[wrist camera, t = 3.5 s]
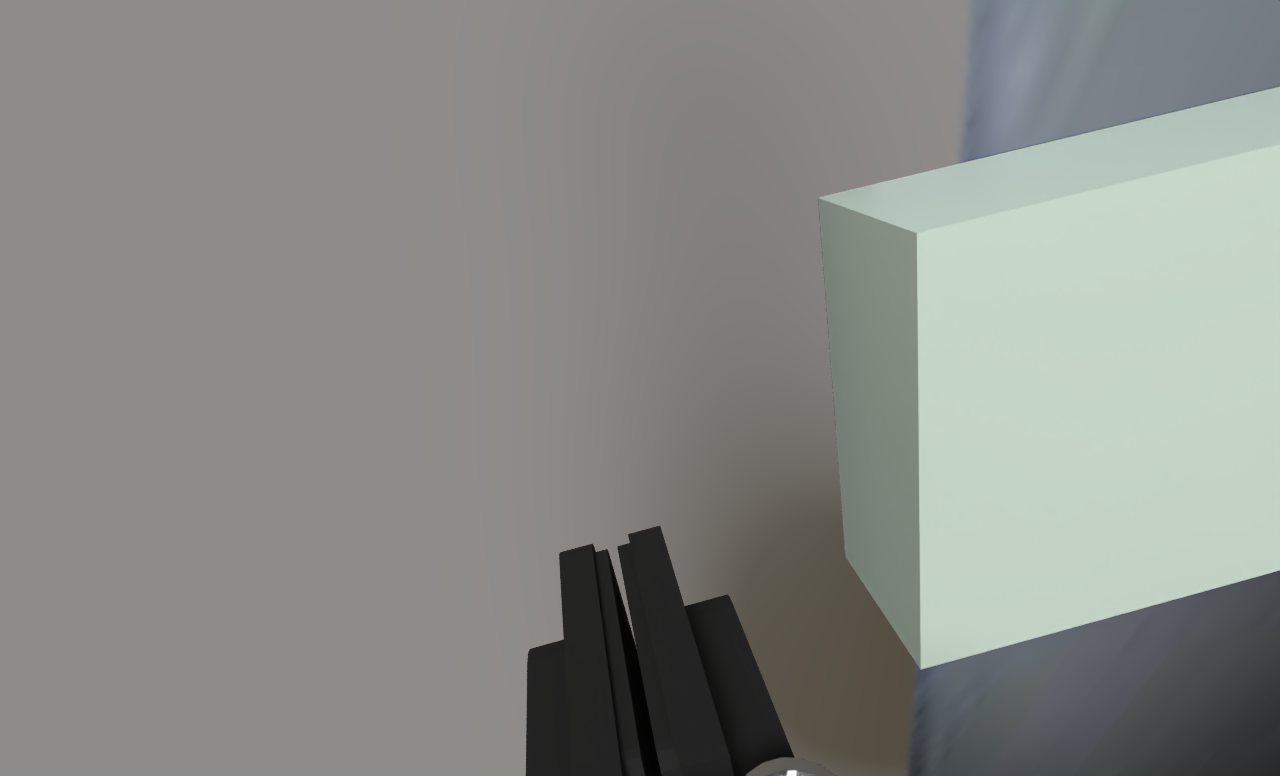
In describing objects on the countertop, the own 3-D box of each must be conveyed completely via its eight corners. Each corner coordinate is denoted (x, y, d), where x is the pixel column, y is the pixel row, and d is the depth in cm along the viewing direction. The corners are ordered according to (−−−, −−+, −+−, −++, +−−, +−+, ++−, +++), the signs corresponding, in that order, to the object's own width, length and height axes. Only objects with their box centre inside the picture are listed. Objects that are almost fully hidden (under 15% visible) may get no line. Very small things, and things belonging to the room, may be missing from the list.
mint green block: (817, 197, 12) (916, 233, 9) (1577, 15, 13) (1918, -12, 10) (845, 556, 16) (920, 669, 13) (1423, 402, 17) (1630, 473, 13)
